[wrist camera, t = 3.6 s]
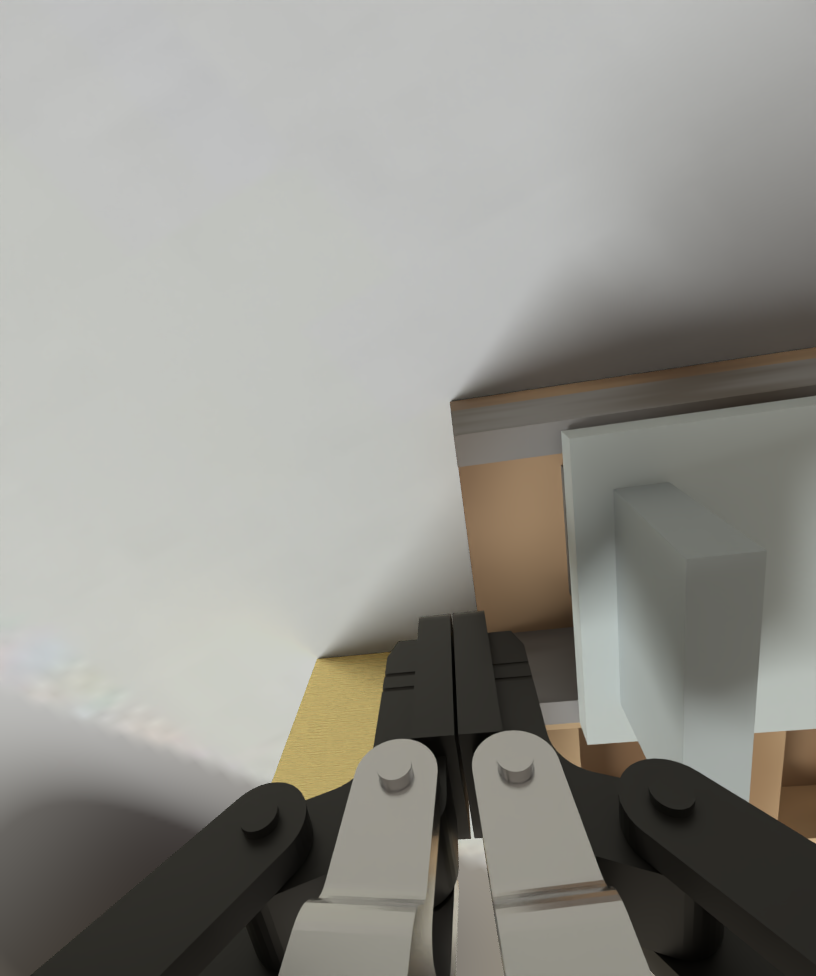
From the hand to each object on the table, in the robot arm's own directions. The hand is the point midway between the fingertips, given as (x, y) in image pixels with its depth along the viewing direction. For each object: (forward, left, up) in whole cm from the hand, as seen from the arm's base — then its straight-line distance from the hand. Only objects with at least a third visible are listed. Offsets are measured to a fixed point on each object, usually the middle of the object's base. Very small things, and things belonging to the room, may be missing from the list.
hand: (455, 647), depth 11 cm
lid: (-9, 0, -2) cm, 9 cm away
